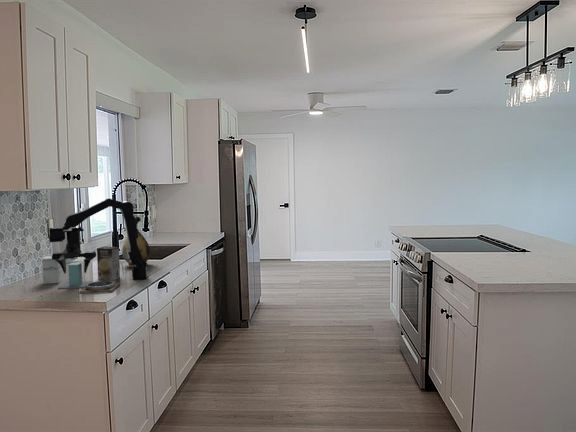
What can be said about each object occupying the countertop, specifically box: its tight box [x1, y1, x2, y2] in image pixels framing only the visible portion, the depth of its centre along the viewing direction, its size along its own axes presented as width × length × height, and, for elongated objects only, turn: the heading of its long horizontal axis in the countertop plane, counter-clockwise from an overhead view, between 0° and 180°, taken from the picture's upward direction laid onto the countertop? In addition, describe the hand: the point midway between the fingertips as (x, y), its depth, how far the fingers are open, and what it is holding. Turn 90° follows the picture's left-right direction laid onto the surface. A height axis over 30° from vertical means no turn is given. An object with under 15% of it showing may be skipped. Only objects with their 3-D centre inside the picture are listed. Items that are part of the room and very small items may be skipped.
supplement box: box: [41, 255, 63, 285], centre depth 227 cm, size 7×7×13 cm
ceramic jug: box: [121, 215, 151, 268], centre depth 265 cm, size 17×15×30 cm
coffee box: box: [96, 245, 121, 281], centre depth 234 cm, size 9×6×16 cm
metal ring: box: [86, 280, 116, 290], centre depth 213 cm, size 12×12×2 cm
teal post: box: [67, 262, 83, 286], centre depth 220 cm, size 4×4×10 cm
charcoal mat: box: [57, 280, 94, 290], centre depth 220 cm, size 12×12×1 cm
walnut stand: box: [79, 282, 121, 294], centre depth 213 cm, size 14×14×1 cm
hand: (75, 273), depth 220 cm, fingers open, 9 cm apart
